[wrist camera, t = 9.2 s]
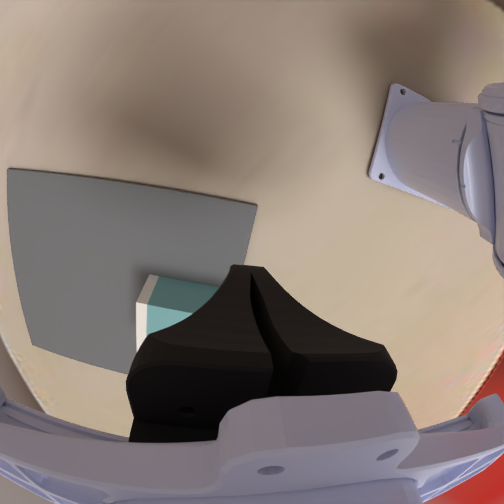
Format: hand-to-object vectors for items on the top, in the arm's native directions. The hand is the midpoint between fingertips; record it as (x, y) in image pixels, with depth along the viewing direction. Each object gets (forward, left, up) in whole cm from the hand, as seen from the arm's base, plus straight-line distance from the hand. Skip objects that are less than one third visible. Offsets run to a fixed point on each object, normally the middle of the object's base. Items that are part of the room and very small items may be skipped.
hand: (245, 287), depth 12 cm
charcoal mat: (+10, +9, -10) cm, 17 cm away
